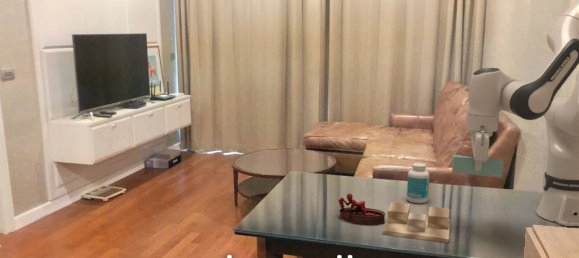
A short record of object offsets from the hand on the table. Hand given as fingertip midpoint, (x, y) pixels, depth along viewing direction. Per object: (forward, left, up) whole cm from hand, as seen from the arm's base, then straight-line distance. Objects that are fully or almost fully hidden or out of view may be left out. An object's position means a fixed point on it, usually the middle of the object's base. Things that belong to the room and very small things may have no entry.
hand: (477, 168), depth 145 cm
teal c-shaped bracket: (0, -5, -2) cm, 5 cm away
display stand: (+16, +4, -20) cm, 26 cm away
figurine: (+34, +3, -20) cm, 40 cm away
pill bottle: (+18, -21, -20) cm, 34 cm away
